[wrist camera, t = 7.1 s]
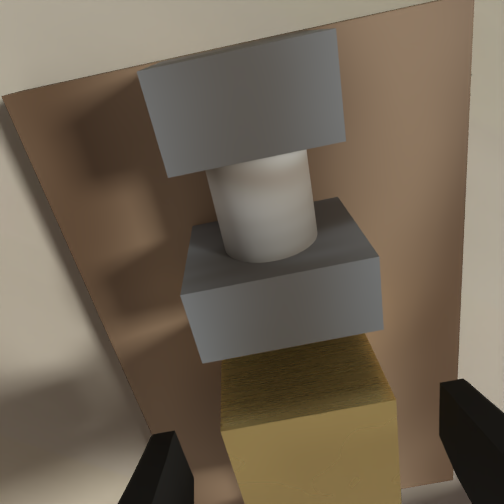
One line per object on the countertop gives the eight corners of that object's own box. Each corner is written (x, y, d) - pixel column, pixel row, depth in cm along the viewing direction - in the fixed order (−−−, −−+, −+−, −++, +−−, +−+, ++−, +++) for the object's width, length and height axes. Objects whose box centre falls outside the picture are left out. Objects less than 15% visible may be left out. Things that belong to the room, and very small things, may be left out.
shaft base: (451, -3, 11) (596, -28, 7) (440, 456, 20) (502, 576, 16) (21, 90, 12) (-103, 124, 7) (194, 499, 20) (185, 628, 16)
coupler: (341, 282, 14) (395, 399, 9) (351, 372, 16) (401, 506, 11) (222, 305, 14) (220, 431, 10) (246, 392, 16) (254, 532, 11)
